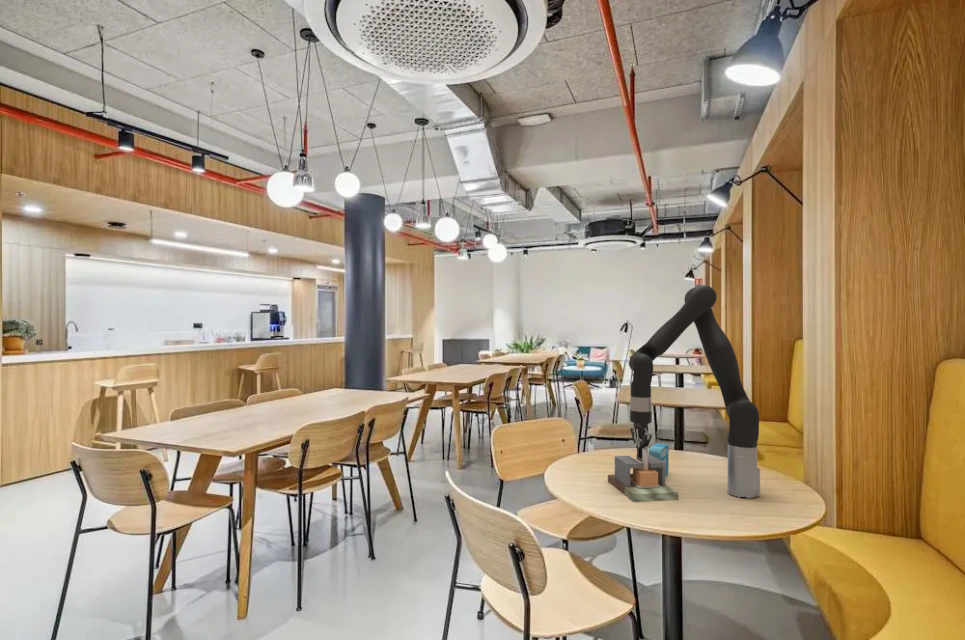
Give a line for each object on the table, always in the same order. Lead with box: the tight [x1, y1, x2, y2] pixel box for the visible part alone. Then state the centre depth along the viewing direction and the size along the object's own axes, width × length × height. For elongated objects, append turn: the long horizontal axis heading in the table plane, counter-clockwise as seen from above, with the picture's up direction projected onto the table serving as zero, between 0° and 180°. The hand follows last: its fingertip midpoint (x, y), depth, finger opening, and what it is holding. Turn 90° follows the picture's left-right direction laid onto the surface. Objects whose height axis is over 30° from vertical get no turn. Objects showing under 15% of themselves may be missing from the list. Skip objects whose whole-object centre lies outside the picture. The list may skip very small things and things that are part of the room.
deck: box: [607, 473, 680, 503], centre depth 179 cm, size 16×22×2 cm
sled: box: [631, 447, 660, 488], centre depth 176 cm, size 8×6×13 cm
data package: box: [648, 443, 670, 478], centre depth 195 cm, size 12×4×12 cm, turn 146°
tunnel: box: [614, 454, 666, 487], centre depth 181 cm, size 14×11×8 cm
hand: (640, 457), depth 180 cm, fingers closed
